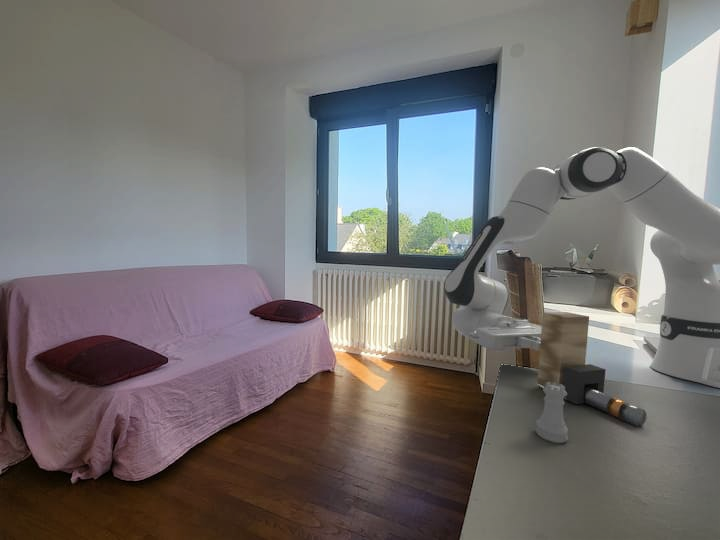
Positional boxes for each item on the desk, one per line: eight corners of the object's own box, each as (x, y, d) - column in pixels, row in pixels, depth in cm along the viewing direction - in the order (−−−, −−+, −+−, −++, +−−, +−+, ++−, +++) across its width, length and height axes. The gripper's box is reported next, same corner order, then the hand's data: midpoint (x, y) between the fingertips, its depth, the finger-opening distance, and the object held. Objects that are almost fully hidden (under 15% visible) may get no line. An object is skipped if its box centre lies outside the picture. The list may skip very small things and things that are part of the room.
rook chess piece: (566, 448, 48) (571, 393, 48) (532, 436, 51) (536, 385, 50) (569, 435, 52) (574, 385, 51) (537, 425, 54) (541, 377, 54)
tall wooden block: (536, 385, 71) (542, 312, 70) (560, 383, 73) (566, 311, 73) (557, 395, 66) (564, 317, 66) (582, 392, 69) (589, 316, 68)
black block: (562, 397, 65) (564, 366, 65) (587, 394, 68) (590, 364, 67) (576, 404, 63) (579, 371, 62) (602, 400, 65) (605, 369, 65)
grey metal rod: (553, 391, 69) (555, 376, 69) (564, 389, 70) (565, 375, 70) (633, 427, 55) (635, 410, 55) (645, 425, 56) (647, 408, 56)
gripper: (465, 320, 83) (506, 334, 70) (528, 318, 90) (577, 330, 77) (463, 345, 84) (504, 363, 71) (527, 341, 91) (575, 357, 78)
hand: (543, 346), depth 74 cm, fingers closed
